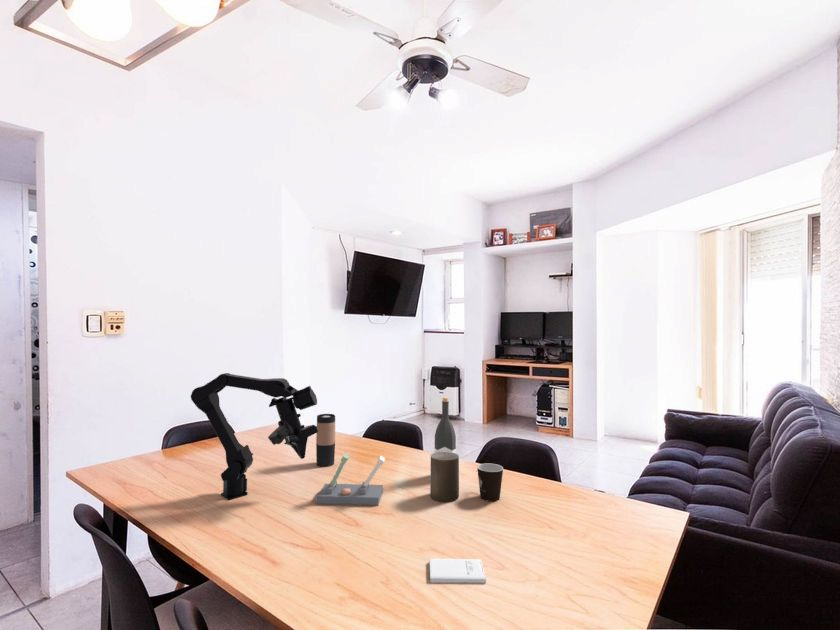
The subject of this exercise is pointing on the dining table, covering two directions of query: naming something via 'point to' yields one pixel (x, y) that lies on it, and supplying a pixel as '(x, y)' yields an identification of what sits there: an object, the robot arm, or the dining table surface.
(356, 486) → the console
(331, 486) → the green lever
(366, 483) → the ivory lever
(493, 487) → the coffee mug
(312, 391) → the robot arm
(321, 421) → the travel mug
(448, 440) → the wine bottle
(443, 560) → the external hard drive
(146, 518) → the dining table surface
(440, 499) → the pillar candle
